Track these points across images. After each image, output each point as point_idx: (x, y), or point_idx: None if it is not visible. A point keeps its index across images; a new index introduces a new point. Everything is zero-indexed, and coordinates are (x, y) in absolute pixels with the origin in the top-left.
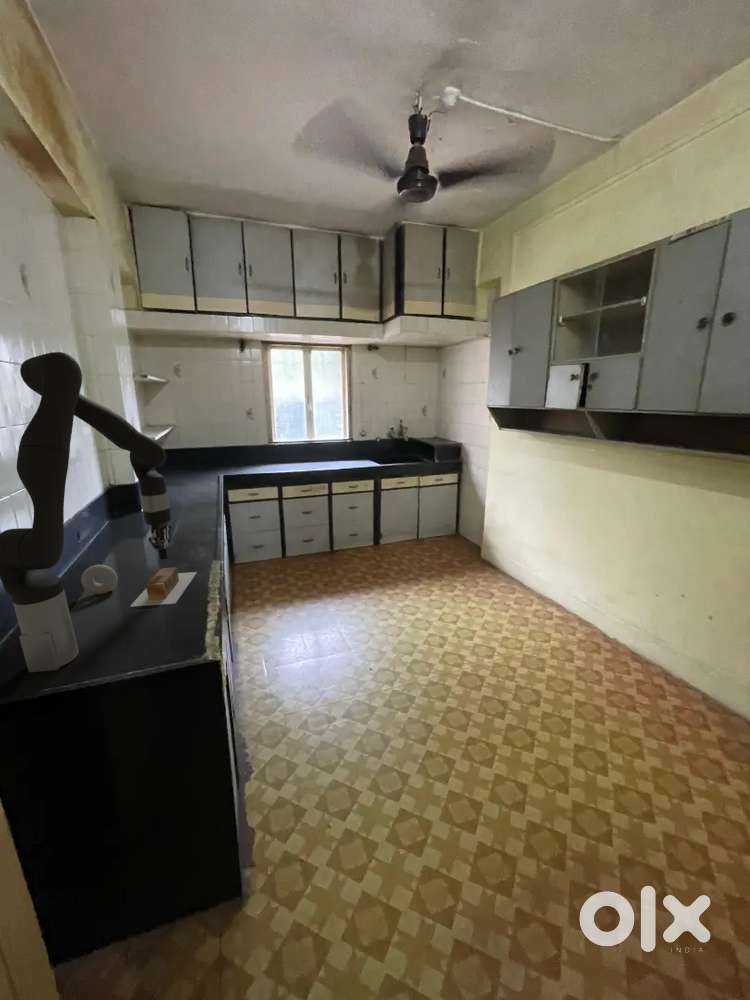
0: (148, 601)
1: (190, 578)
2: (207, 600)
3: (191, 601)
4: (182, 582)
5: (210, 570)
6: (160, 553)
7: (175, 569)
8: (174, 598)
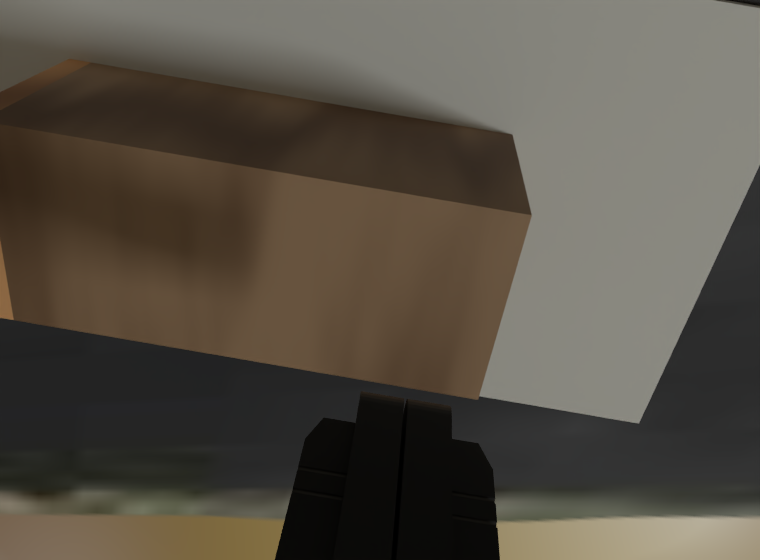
0: (32, 65)
1: (494, 381)
2: (67, 487)
3: (57, 401)
4: None
5: (646, 500)
6: (290, 519)
7: (421, 388)
8: None
